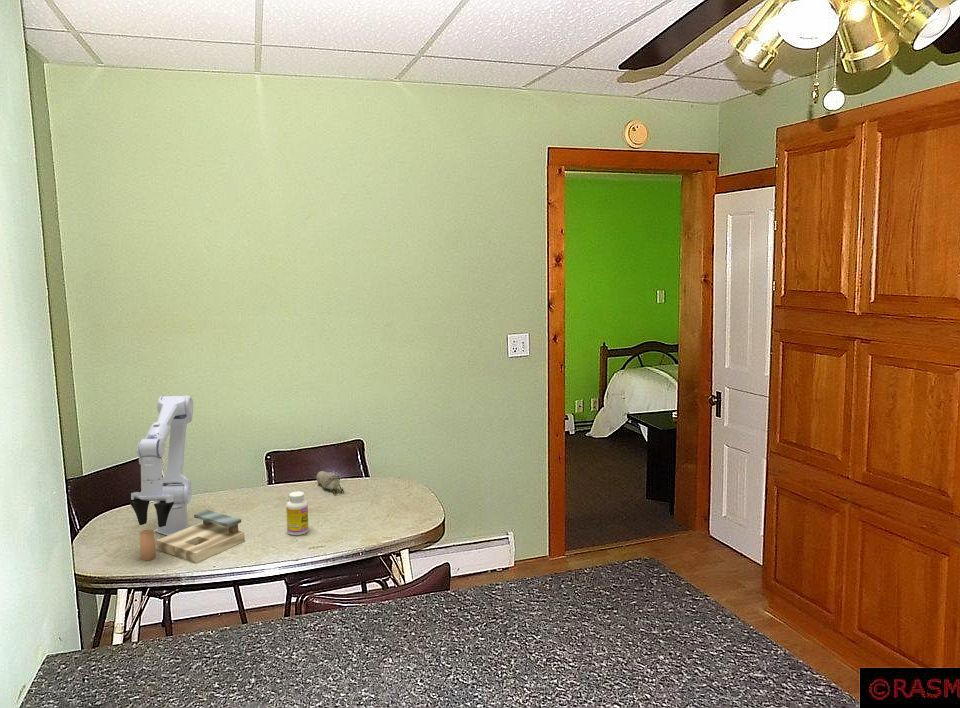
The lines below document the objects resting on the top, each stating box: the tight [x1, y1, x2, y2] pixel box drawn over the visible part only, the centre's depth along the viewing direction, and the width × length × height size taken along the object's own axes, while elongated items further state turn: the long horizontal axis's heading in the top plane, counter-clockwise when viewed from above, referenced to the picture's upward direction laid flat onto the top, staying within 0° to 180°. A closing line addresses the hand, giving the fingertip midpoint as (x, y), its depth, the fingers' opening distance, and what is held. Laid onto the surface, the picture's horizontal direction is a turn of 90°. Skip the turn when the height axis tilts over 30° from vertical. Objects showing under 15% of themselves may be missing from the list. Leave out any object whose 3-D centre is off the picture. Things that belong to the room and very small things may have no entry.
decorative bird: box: [316, 470, 345, 495], centre depth 277 cm, size 5×16×8 cm, turn 41°
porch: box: [156, 509, 245, 564], centre depth 227 cm, size 18×18×7 cm
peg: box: [139, 529, 157, 562], centre depth 218 cm, size 4×4×8 cm
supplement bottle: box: [285, 490, 309, 536], centre depth 237 cm, size 7×7×13 cm
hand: (152, 525), depth 217 cm, fingers open, 7 cm apart
